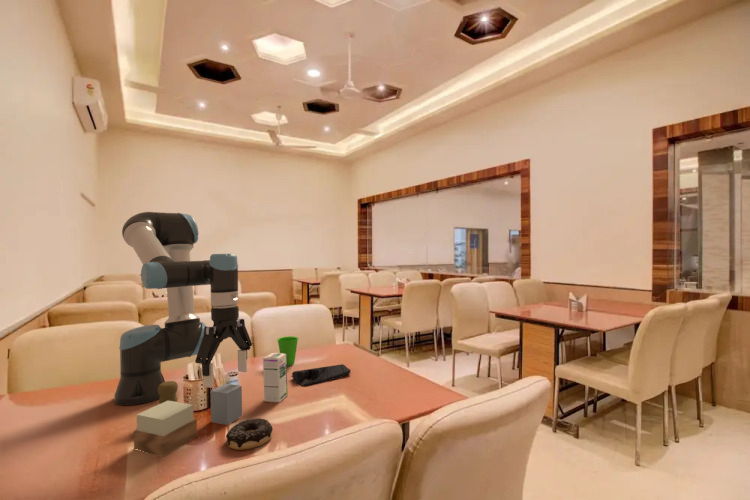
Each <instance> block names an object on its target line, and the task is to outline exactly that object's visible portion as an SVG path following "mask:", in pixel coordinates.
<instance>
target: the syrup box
mask: <svg viewBox="0 0 750 500" xmlns="http://www.w3.org/2000/svg"><path fill="white" fill-rule="evenodd" d="M262 369H263V370H262V371H263V373H262V374H263V377H262V378H263V401H264V402H266V403H267V402H269V403H281V402H282V401H283V400H284V399H285V398H286V397H288V374H287V373H288V366H287V364H286V354H285V353H280V352H271V353H270V354H268V355H266V356H265V357H263V358H262Z"/></svg>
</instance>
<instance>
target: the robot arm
mask: <svg viewBox="0 0 750 500" xmlns="http://www.w3.org/2000/svg"><path fill="white" fill-rule="evenodd" d="M121 234H122V238H123V241H125V243H126V244H127V245H128V246H130V247H131V248H133V250H134V252H135V253H136V256H137V257H138V258H139V260H140V262H141V264H142V267H141V270H140V278H141V279H140V280H141V284H142V286H143V287H144V288H145V289H148V290H151V289H152V290H154V289H155V290H156V289H157V290H162V289H166V295H167V296H166V297H167V309H168V311H167V312H168V318H167V319H166V320H165V322H164V327H161V326H160V324H149V325H143V326H142V325H141V326H138V327H135V328H132V329H128V330H126V331H124V333H122V334H121V335H120V338H119V339H120V340H119V347H118V348H119V359H120V361H119V363H120V365H119V367H120V368H119V369H120V371H119V373H120V375H119V377H120V378H119V380H118V384H117V386H116V387H117V388H116V390H115V392H114V396H113V397H114V400H113V401H115V402H114V403H115V404H116V403H117V404H116V405H118V404H120V405H119V406H135V405H141V404H148V403H150V402H153V401H156V400H159V399H160V395H159V394H158V386H159V385H160V384H161V383H163V382H166V381H165V378H164V375H163V373H162V369H161V367H162V366H161V365H162V363H164V362H168V361H174V360H178V359H183V358H184V359H185V358H190V357H193V356H196V358H195V361H194V363H195V364H201V375H202V377H203V388H210V389H212V388H214V387H215V385H214V383H215V382H214V362H212V361H213V359H214V356H215V355H216V352H217V351H218V348H219V346H220V345H221V344H222V342H223V341H224V340H226V339H228V338H231V339H232V341H233V342H234V344H235V345H236V346H237V348H239V349H237V372H238V373H239V372H240V373H247V371H248V367H247V366H248V363H247V362H248V351H250V350H251V347H252V346H253V342H252V339H251V337H250V335H249V332H248V330H247V328H246V323H245V319H244V318H240V317H239V315H240V312H239V311H240V309H239V306H238V304H239V264H238V256H237V255H236V254H235V253H212V254H210V257H209V260H207V259H206V260H191V254H190V252H191V250H193V248H194V244H196V243H197V242H198V240H199V228H198V224H197V222H196V219H195V218H194V217H193V216H192V215H191V214H188V213H180V212H160V211H159V212H157V211H155V212H154V211H144V212H139V213H137V214H134V215H132V216H131V217H130V218H128V219H127V220H126V222H124V224H123V227H122V229H121ZM208 285H209V286H210V306H211V307H212V308H211V309H210V313H211V314H210V319H211V321H212V322H213V326H207V325H206V324H205V322H202V321H201V319H200V317H199V316H198V315H197V314H196V312H195V311H196V310H195V303H194V302H195V300H194V298H195V297H194V288H193V287H194V286H195V287H196V286H208Z"/></svg>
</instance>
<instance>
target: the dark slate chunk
mask: <svg viewBox="0 0 750 500" xmlns="http://www.w3.org/2000/svg"><path fill="white" fill-rule="evenodd" d="M351 370H352V369H350V368H348V367H347V366H346V365H345V364H343V363H341V364H336V365H335V364H334V365H328V366H322V367H315V368H308V369H301V370H295V371H293V372H292V373H291V378H292V379H293V381H294V383H296V384H298V385H300V386H302V387H308V386H309V385H316V384H319V383H324V382H326V381H330V380H331V381H332V380H335V379H338V378H339V379H340V378H342V377H345V376H347V375H349V374H351Z"/></svg>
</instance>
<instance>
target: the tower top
mask: <svg viewBox="0 0 750 500" xmlns="http://www.w3.org/2000/svg"><path fill="white" fill-rule="evenodd" d="M194 419H195V418H194V404H190V403H186V402H179V401H177V402H174V401H166V402H163V403H161V404H159V403H158V404H157V405H155V406H152V407H151V408H147V409H146V410H144V411H142V412H139V413H137V414H136V430H137V431H141V432H146V433H150V434H155V435H159V436H165V435H167V434H169V433H171V432H173V431H174V430H176V429H178V428H180V427H182V426H184V425H185V424H187V423H189V422H191V421H193V420H194Z"/></svg>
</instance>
